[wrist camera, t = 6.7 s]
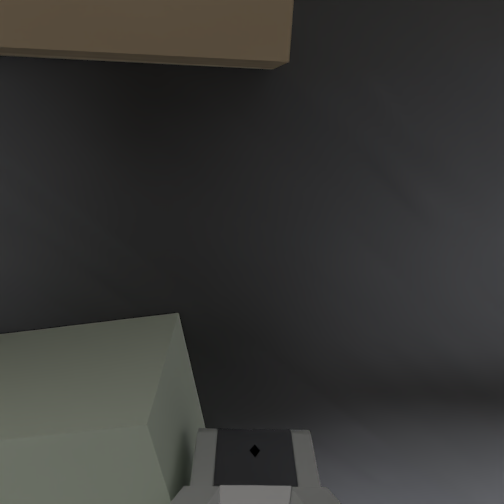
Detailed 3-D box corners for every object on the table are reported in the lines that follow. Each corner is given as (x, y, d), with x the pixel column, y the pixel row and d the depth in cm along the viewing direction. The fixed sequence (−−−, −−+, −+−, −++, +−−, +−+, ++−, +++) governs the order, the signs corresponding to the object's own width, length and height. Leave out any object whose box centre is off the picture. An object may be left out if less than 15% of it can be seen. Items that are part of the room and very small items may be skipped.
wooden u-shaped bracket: (-224, 1, 8) (-530, -52, 5) (274, 28, 8) (293, -5, 5) (-13, 577, 16) (-77, 702, 13) (242, 579, 16) (241, 700, 13)
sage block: (-26, 337, 11) (-153, 457, 8) (178, 312, 11) (146, 424, 8) (43, 478, 14) (-29, 622, 10) (213, 460, 14) (201, 600, 10)
